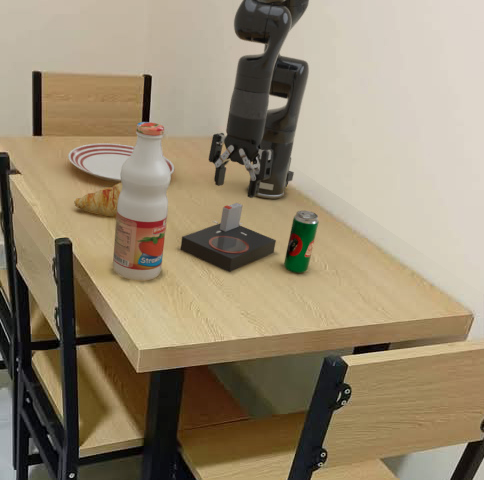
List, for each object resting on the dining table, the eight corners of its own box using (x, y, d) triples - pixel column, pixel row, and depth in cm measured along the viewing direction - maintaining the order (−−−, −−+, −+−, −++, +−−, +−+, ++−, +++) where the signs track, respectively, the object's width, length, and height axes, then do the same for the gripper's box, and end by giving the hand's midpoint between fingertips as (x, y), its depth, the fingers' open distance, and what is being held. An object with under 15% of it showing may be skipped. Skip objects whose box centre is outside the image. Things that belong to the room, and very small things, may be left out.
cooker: (223, 229, 167) (225, 216, 165) (276, 251, 160) (279, 238, 158) (174, 247, 155) (176, 233, 154) (229, 272, 148) (231, 257, 146)
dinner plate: (192, 175, 197) (194, 163, 195) (133, 199, 177) (134, 185, 175) (110, 149, 208) (111, 137, 206) (45, 168, 188) (45, 155, 186)
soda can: (306, 276, 151) (319, 221, 145) (282, 271, 151) (293, 216, 145) (308, 266, 155) (320, 212, 149) (284, 261, 156) (295, 207, 149)
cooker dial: (233, 224, 162) (237, 201, 159) (239, 226, 161) (242, 203, 159) (219, 229, 159) (223, 206, 156) (225, 231, 158) (229, 208, 155)
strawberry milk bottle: (124, 256, 148) (137, 114, 134) (168, 268, 146) (185, 125, 131) (103, 273, 141) (114, 125, 126) (149, 286, 138) (165, 136, 124)
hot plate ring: (224, 233, 157) (225, 232, 157) (256, 247, 153) (257, 246, 153) (200, 242, 151) (200, 241, 151) (232, 257, 147) (233, 256, 147)
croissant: (76, 230, 165) (80, 206, 158) (69, 195, 170) (72, 171, 163) (166, 227, 172) (174, 204, 165) (157, 193, 176) (164, 170, 170)
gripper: (287, 119, 146) (272, 198, 155) (230, 102, 153) (219, 178, 162) (266, 123, 141) (252, 204, 149) (208, 105, 148) (197, 183, 156)
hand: (235, 190), depth 156 cm, fingers open, 8 cm apart
